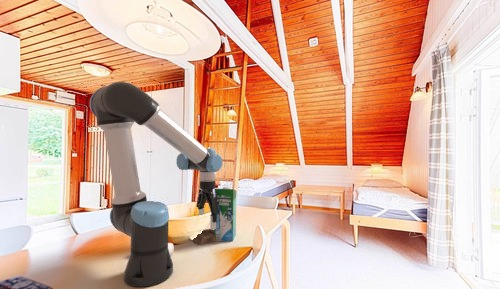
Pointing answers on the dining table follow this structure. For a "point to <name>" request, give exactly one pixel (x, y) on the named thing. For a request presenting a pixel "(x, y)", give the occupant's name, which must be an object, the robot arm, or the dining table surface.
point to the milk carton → (226, 214)
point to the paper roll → (170, 248)
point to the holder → (205, 237)
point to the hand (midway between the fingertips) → (207, 225)
